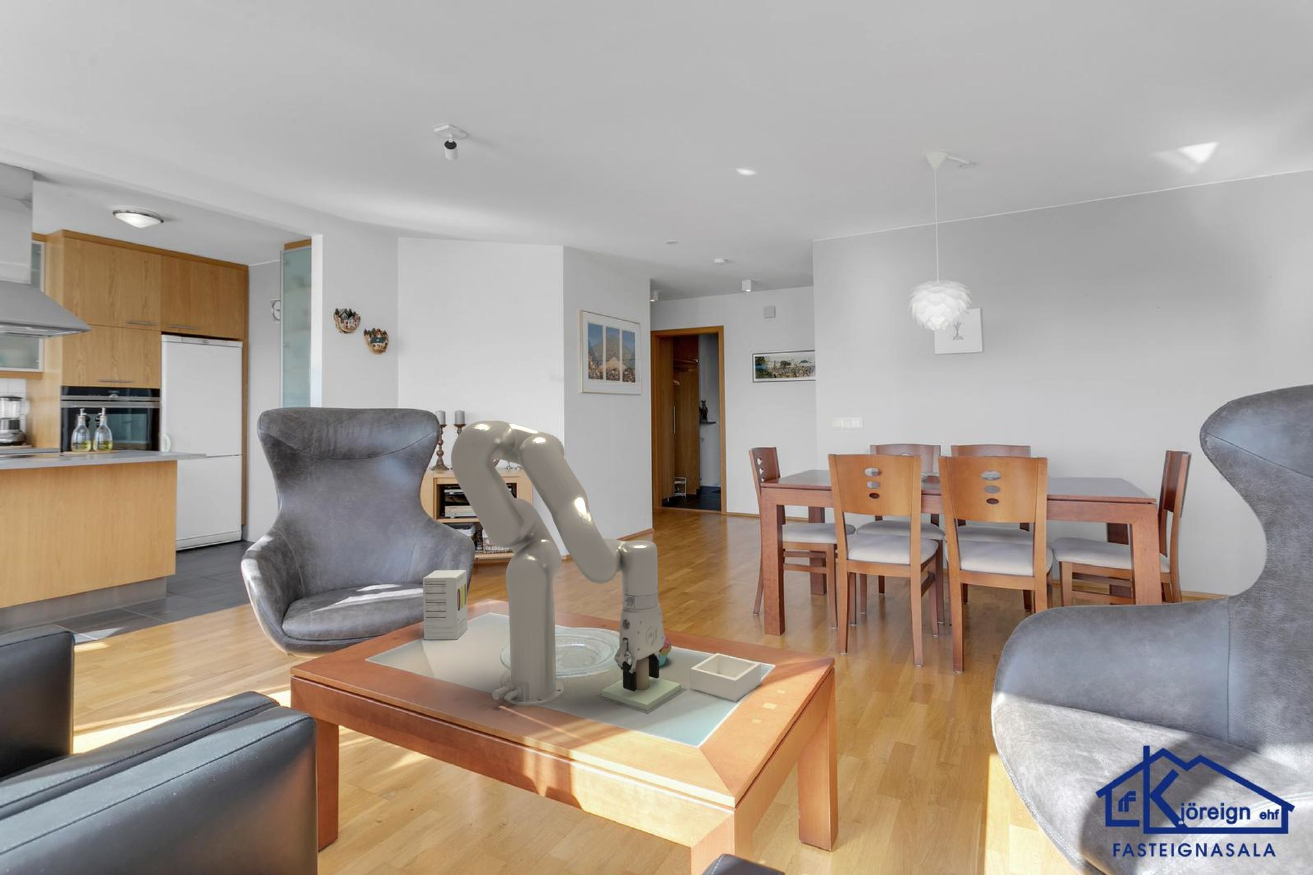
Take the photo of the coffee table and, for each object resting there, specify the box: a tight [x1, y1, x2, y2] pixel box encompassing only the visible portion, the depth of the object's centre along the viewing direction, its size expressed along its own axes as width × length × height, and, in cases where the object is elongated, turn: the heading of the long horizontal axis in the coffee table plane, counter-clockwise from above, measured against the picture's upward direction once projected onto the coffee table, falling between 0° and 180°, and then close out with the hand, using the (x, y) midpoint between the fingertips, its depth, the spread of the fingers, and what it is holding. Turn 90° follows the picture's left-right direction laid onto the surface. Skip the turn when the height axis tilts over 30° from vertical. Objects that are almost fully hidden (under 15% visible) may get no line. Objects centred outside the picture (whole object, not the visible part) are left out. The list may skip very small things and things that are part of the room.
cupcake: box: [647, 636, 673, 667], centre depth 153 cm, size 9×8×12 cm
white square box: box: [689, 652, 762, 703], centre depth 139 cm, size 11×11×5 cm
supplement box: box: [422, 569, 469, 641], centre depth 177 cm, size 10×9×17 cm
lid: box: [600, 657, 682, 711], centre depth 136 cm, size 12×12×7 cm
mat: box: [594, 686, 688, 715], centre depth 137 cm, size 14×14×1 cm
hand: (641, 682), depth 136 cm, fingers open, 7 cm apart
